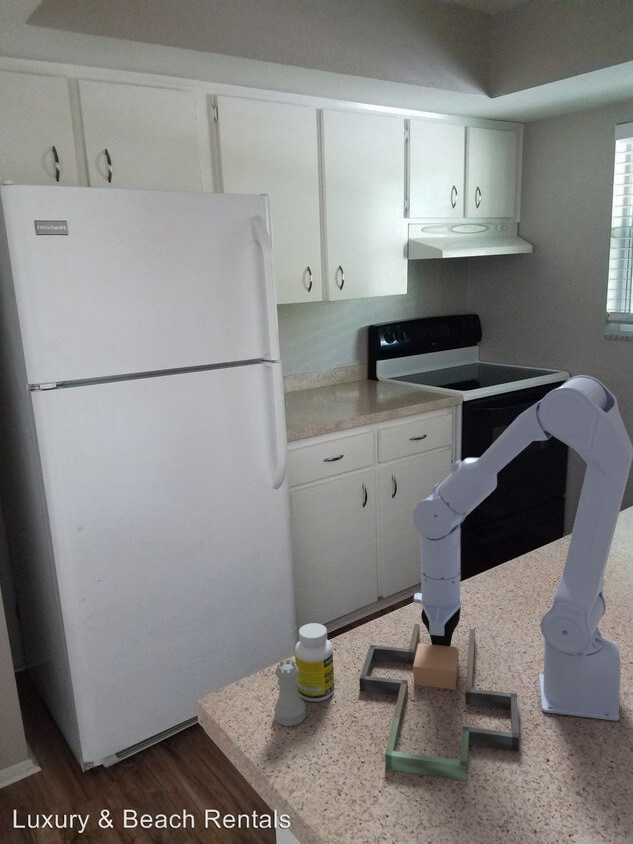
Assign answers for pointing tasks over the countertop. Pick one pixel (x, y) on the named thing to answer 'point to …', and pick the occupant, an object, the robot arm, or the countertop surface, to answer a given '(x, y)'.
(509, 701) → the box
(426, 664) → the light orange-tan block
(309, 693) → the supplement bottle
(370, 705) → the countertop surface
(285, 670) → the rook chess piece
